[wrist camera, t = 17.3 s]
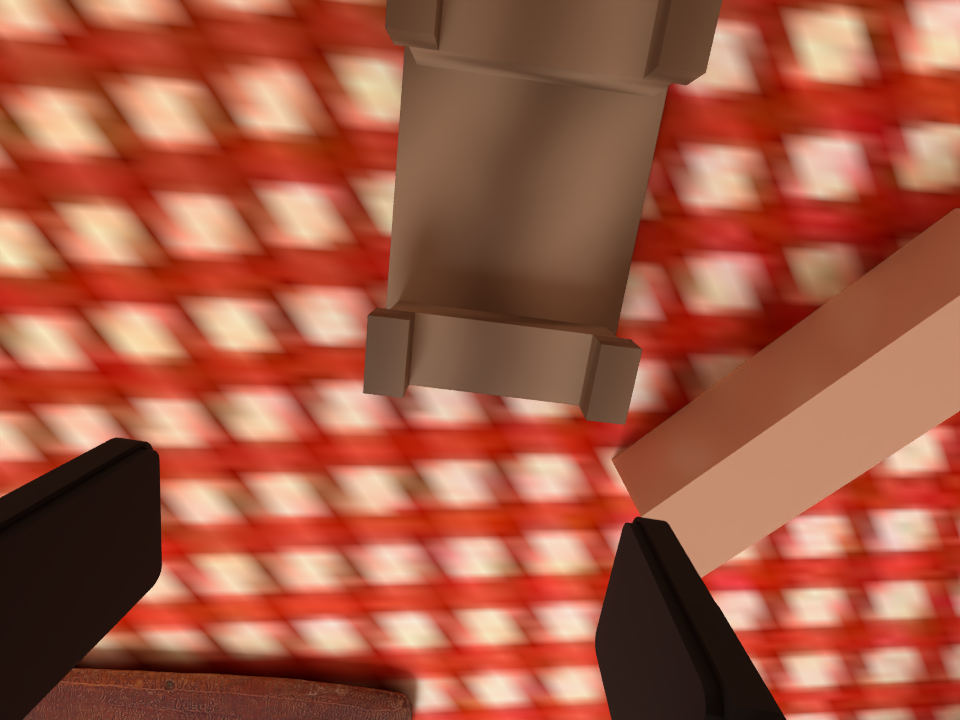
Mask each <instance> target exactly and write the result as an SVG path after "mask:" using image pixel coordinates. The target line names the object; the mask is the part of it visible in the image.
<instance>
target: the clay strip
mask: <svg viewBox="0 0 960 720" xmlns="http://www.w3.org/2000/svg"><path fill="white" fill-rule="evenodd" d="M959 411H960V208H955V209H953V210H952V211H951V212H949V213H948V214H947V215H945V216H944V217H942V218H941V219H940V220H938V221H937V222H936V223H934V224H933V225H932V226H930V227H929V228H927V229H926V230H925V231H923V232H922V233H921V234H919V235H918V236H917V237H915V238H914V239H912V240H911V241H910V242H908V243H907V244H906V245H904V246H903V247H902V248H900V249H899V250H897V251H896V252H895V253H893V254H892V255H891V256H889V257H888V258H887V259H885V260H884V261H882V262H881V263H880V264H878V265H877V266H876V267H874V268H873V269H872V270H870V271H869V272H867V273H866V274H865V275H863V276H862V277H861V278H859V279H858V280H856V281H855V282H854V283H852V284H851V285H850V286H848V287H847V288H846V289H844V290H843V291H841V292H840V293H839V294H837V295H836V296H835V297H833V298H832V299H831V300H829V301H828V302H826V303H825V304H824V305H822V306H821V307H820V308H818V309H817V310H816V311H814V312H813V313H811V314H810V315H809V316H807V317H806V318H805V319H803V320H802V321H801V322H799V323H798V324H796V325H795V326H794V327H792V328H791V329H790V330H788V331H787V332H786V333H784V334H783V335H781V336H780V337H779V338H777V339H776V340H775V341H773V342H772V343H770V344H769V345H768V346H766V347H765V348H764V349H762V350H761V351H760V352H758V353H757V354H755V355H754V356H753V357H751V358H750V359H749V360H747V361H746V362H745V363H743V364H742V365H740V366H739V367H738V368H736V369H735V370H734V371H732V372H731V373H730V374H728V375H727V376H725V377H724V378H723V379H721V380H720V381H719V382H717V383H716V384H715V385H713V386H712V387H710V388H709V389H708V390H706V391H705V392H704V393H702V394H701V395H699V396H698V397H697V398H695V399H694V400H693V401H691V402H690V403H689V404H687V405H686V406H684V407H683V408H682V409H680V410H679V411H678V412H676V413H675V414H674V415H672V416H671V417H669V418H668V419H667V420H665V421H664V422H663V423H661V424H660V425H659V426H657V427H656V428H654V429H653V430H652V431H650V432H649V433H648V434H646V435H645V436H644V437H642V438H641V439H639V440H638V441H637V442H635V443H634V444H633V445H631V446H630V447H629V448H627V449H626V450H624V451H623V452H622V453H620V454H619V455H618V456H616V457H615V458H613V459H612V461H613V463H614V465H615V467H616V469H617V471H618V473H619V475H620V477H621V479H622V481H623V483H624V484H625V486H626V488H627V490H628V492H629V494H630V496H631V498H632V500H633V502H634V504H635V505H636V507H637V509H638V511H639V513H640V515H641V517H643V518H650V519H656V520H663V521H667V523H668V524H669V525H670V527H671V528H672V530H673V532H674V534H675V535H676V537H677V539H678V540H679V542H680V544H681V545H682V547H683V549H684V550H685V552H686V554H687V555H688V557H689V559H690V561H691V562H692V564H693V566H694V567H695V569H696V571H697V572H698V574H699V576H700V577H701V578H702V577H703V576H705V575H706V574H708V573H709V572H711V571H712V570H714V569H716V568H717V567H719V566H720V565H722V564H723V563H725V562H726V561H728V560H730V559H731V558H733V557H734V556H736V555H737V554H739V553H740V552H742V551H743V550H745V549H747V548H748V547H750V546H751V545H753V544H754V543H756V542H757V541H759V540H760V539H762V538H764V537H765V536H767V535H768V534H770V533H771V532H773V531H774V530H776V529H777V528H779V527H781V526H782V525H784V524H785V523H787V522H788V521H790V520H791V519H793V518H795V517H796V516H798V515H799V514H801V513H802V512H804V511H805V510H807V509H808V508H810V507H812V506H813V505H815V504H816V503H818V502H819V501H821V500H822V499H824V498H825V497H827V496H829V495H830V494H832V493H833V492H835V491H836V490H838V489H839V488H841V487H842V486H844V485H846V484H847V483H849V482H850V481H852V480H853V479H855V478H856V477H858V476H860V475H861V474H863V473H864V472H866V471H867V470H869V469H870V468H872V467H873V466H875V465H877V464H878V463H880V462H881V461H883V460H884V459H886V458H887V457H889V456H890V455H892V454H894V453H895V452H897V451H898V450H900V449H901V448H903V447H904V446H906V445H907V444H909V443H911V442H912V441H914V440H915V439H917V438H918V437H920V436H921V435H923V434H924V433H926V432H928V431H929V430H931V429H932V428H934V427H935V426H937V425H938V424H940V423H942V422H943V421H945V420H946V419H948V418H949V417H951V416H952V415H954V414H955V413H957V412H959Z"/></svg>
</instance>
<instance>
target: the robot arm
mask: <svg viewBox="0 0 960 720" xmlns="http://www.w3.org/2000/svg"><path fill="white" fill-rule="evenodd" d="M161 568H162V552H161V507H160V463H159V455H158V453H157V452H156V451H154V450H153V448H152V446H151V444H149V443H148V442H144V441H137V440H131V439H124V438H113V439H110V440H108V441H106V442H105V443H103V444H101V445H99V446H97V447H95V448H93V449H91V450H90V451H88V452H86V453H84V454H82V455H80V456H78V457H76V458H74V459H73V460H71V461H69V462H67V463H65V464H63V465H61V466H59V467H57V468H56V469H54V470H52V471H50V472H48V473H46V474H44V475H42V476H40V477H39V478H37V479H35V480H33V481H31V482H29V483H27V484H25V485H23V486H22V487H20V488H18V489H16V490H14V491H12V492H10V493H8V494H6V495H5V496H3V497H1V498H0V720H23V719H24V718H25V717H26V716H27V715H28V714H29V713H30V712H31V711H32V710H33V709H34V708H35V707H36V706H37V704H38V703H39V702H40V701H41V700H42V699H43V698H44V697H45V696H46V695H47V694H48V693H49V692H50V691H51V690H52V689H53V688H54V687H55V686H56V685H57V684H58V683H59V682H60V681H61V680H62V679H63V678H64V677H65V676H66V675H67V674H68V673H69V672H70V671H71V670H72V669H73V668H74V667H75V666H76V665H77V664H78V663H79V662H80V661H81V660H82V658H83V657H84V656H85V655H86V654H87V653H88V652H89V651H90V650H91V649H92V648H93V647H94V646H95V645H96V644H97V643H98V642H99V641H100V640H101V639H102V638H103V637H104V636H105V635H106V634H107V633H108V632H109V631H110V630H111V629H112V628H113V627H114V626H115V625H116V624H117V623H118V622H119V621H120V620H121V619H122V618H123V617H124V616H125V615H126V614H127V612H128V611H129V610H130V609H131V608H132V607H133V606H134V605H135V604H136V603H137V602H138V601H139V600H140V599H141V598H142V597H143V596H144V595H145V594H146V593H147V592H148V591H149V590H150V589H151V588H152V587H153V586H154V584H155V583H156V581H157V580H158V578H159V575H160V572H161ZM595 648H596V655H597V659H598V664H599V668H600V672H601V676H602V681H603V685H604V689H605V693H606V698H607V702H608V706H609V710H610V714H611V719H612V720H786V718H785V717H784V715H783V713H782V712H781V710H780V708H779V707H778V705H777V703H776V702H775V700H774V698H773V697H772V695H771V693H770V691H769V690H768V688H767V686H766V685H765V683H764V681H763V680H762V678H761V676H760V675H759V673H758V671H757V670H756V668H755V666H754V665H753V663H752V661H751V660H750V658H749V656H748V655H747V653H746V651H745V650H744V648H743V646H742V644H741V643H740V641H739V639H738V638H737V636H736V634H735V633H734V631H733V629H732V628H731V626H730V624H729V623H728V621H727V619H726V618H725V616H724V614H723V613H722V611H721V609H720V608H719V606H718V605H717V604H716V602H715V601H714V599H713V598H712V596H711V594H710V593H709V591H708V589H707V588H706V586H705V584H704V582H703V581H702V579H701V577H700V576H699V574H698V572H697V571H696V569H695V567H694V566H693V564H692V562H691V561H690V559H689V557H688V555H687V554H686V552H685V550H684V549H683V547H682V545H681V544H680V542H679V540H678V539H677V537H676V535H675V534H674V532H673V530H672V528H671V527H670V525H669V524H668V523H667V521H663V520H656V519H650V518H643V517H636V518H635V519H634V521H633V523H625V525H624V526H623V529H622V533H621V537H620V541H619V545H618V549H617V553H616V556H615V560H614V564H613V568H612V572H611V576H610V580H609V584H608V588H607V592H606V595H605V599H604V603H603V607H602V611H601V615H600V619H599V623H598V627H597V631H596V637H595Z"/></svg>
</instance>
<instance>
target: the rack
mask: <svg viewBox="0 0 960 720" xmlns="http://www.w3.org/2000/svg"><path fill="white" fill-rule="evenodd" d="M721 3H722V0H387V8H386V24H385V28H386V30H387V32H388V34H389V36H390V38H391V39H392V41H393V43H394V45H401V46H405V52H404V66H403V81H402V95H401V109H400V123H399V137H398V151H397V165H396V179H395V193H394V207H393V221H392V235H391V249H390V264H389V278H388V292H387V306H386V309H383V308H376V309H375V310H374V311H372V312H371V313H370V314H369V315H368V323H367V339H366V356H365V372H364V389H363V393H366V394H374V395H383V396H391V397H399V398H403V397H404V395H405V392H406V390H407V388H408V386H409V385H415V386H423V387H432V388H440V389H448V390H456V391H465V392H473V393H481V394H489V395H498V396H506V397H514V398H522V399H531V400H539V401H547V402H555V403H564V404H572V405H579V406H580V408H581V410H582V413H583V415H584V417H585V419H586V420H590V421H598V422H606V423H615V424H623V425H625V423H626V419H627V414H628V410H629V405H630V401H631V397H632V392H633V388H634V384H635V379H636V375H637V370H638V366H639V362H640V357H641V353H642V349H641V348H640V347H639V346H638V345H636V344H635V343H634V342H633V341H632V340H631V339H623V338H618V337H616V331H617V327H618V322H619V317H620V312H621V308H622V303H623V298H624V293H625V289H626V284H627V279H628V274H629V270H630V265H631V260H632V255H633V251H634V246H635V241H636V236H637V232H638V227H639V222H640V217H641V213H642V208H643V203H644V198H645V194H646V189H647V184H648V179H649V175H650V170H651V165H652V160H653V156H654V151H655V146H656V141H657V137H658V132H659V127H660V122H661V118H662V113H663V108H664V103H665V99H666V94H667V89H668V86H669V85H670V84H672V83H674V84H681V85H687V84H689V83H691V82H692V81H694V80H695V79H697V78H698V77H700V76H701V75H703V74H704V73H706V69H707V64H708V60H709V56H710V51H711V47H712V43H713V38H714V34H715V29H716V25H717V21H718V16H719V12H720V8H721Z"/></svg>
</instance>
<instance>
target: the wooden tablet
mask: <svg viewBox="0 0 960 720" xmlns="http://www.w3.org/2000/svg"><path fill="white" fill-rule="evenodd" d="M411 719H412V704H411V703H410V702H409V700H408V698H407V696H405V695H404V694H403V693H398V692H391V691H387V690H381V689H372V688H365V687H357V686H351V685H343V684H335V683H325V682H316V681H307V680H301V679H289V678H277V677H257V676H240V675H228V674H211V673H173V672H155V671H142V670H110V669H87V668H81V669H79V668H73V669H72V670H71V671H70V672H69V673H68V674H67V675H66V676H65V677H64V678H63V679H62V680H61V681H60V682H59V683H58V684H57V685H56V686H55V687H54V688H53V689H52V690H51V691H50V692H49V693H48V694H47V695H46V696H45V697H44V698H43V699H42V700H41V701H40V702H39V703H38V704H37V706H36V707H35V708H34V709H33V710H32V711H31V712H30V713H29V714H28V715H27V716H26V717H25V718H24V719H23V720H411Z"/></svg>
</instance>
